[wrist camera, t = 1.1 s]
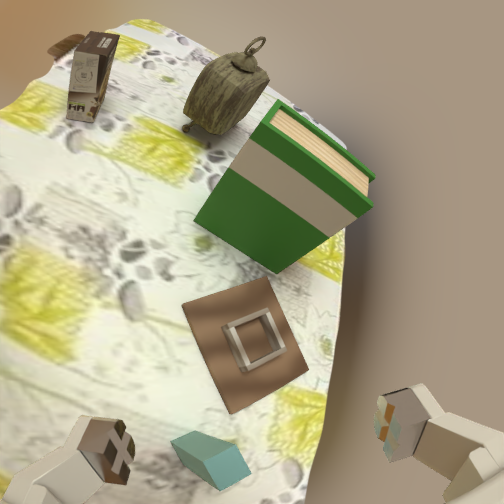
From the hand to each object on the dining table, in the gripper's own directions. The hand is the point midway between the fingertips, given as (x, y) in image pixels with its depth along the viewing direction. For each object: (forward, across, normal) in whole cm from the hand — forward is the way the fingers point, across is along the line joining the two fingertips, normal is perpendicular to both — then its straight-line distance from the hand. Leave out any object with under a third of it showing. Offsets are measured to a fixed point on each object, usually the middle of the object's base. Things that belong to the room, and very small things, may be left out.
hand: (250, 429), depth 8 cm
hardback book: (+49, 0, +5) cm, 49 cm away
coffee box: (+52, +29, -25) cm, 65 cm away
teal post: (+21, +11, +28) cm, 37 cm away
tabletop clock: (+63, +6, -16) cm, 65 cm away
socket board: (+36, +1, +20) cm, 41 cm away
